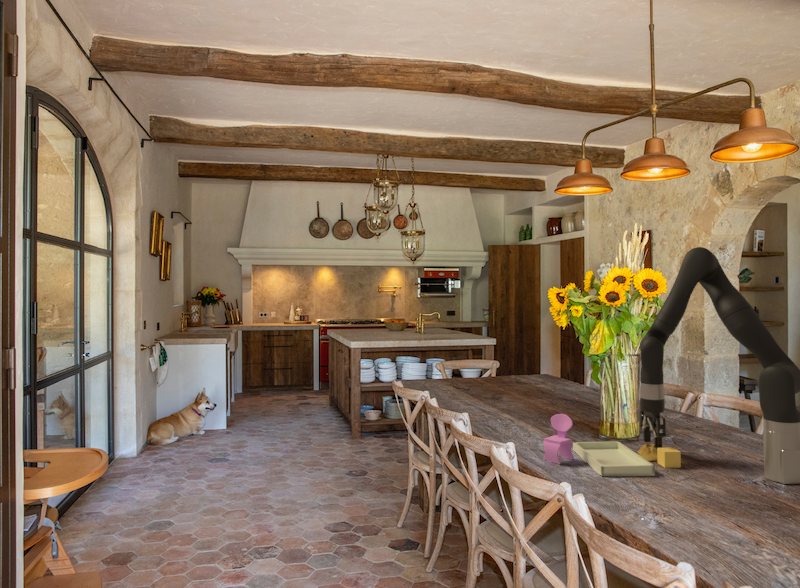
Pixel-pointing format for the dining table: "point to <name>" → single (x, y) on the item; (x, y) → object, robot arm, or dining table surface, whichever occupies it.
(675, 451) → the block
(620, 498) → the dining table surface
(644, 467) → the tray
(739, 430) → the dining table surface
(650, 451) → the fossil
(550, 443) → the toy chair
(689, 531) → the dining table surface
